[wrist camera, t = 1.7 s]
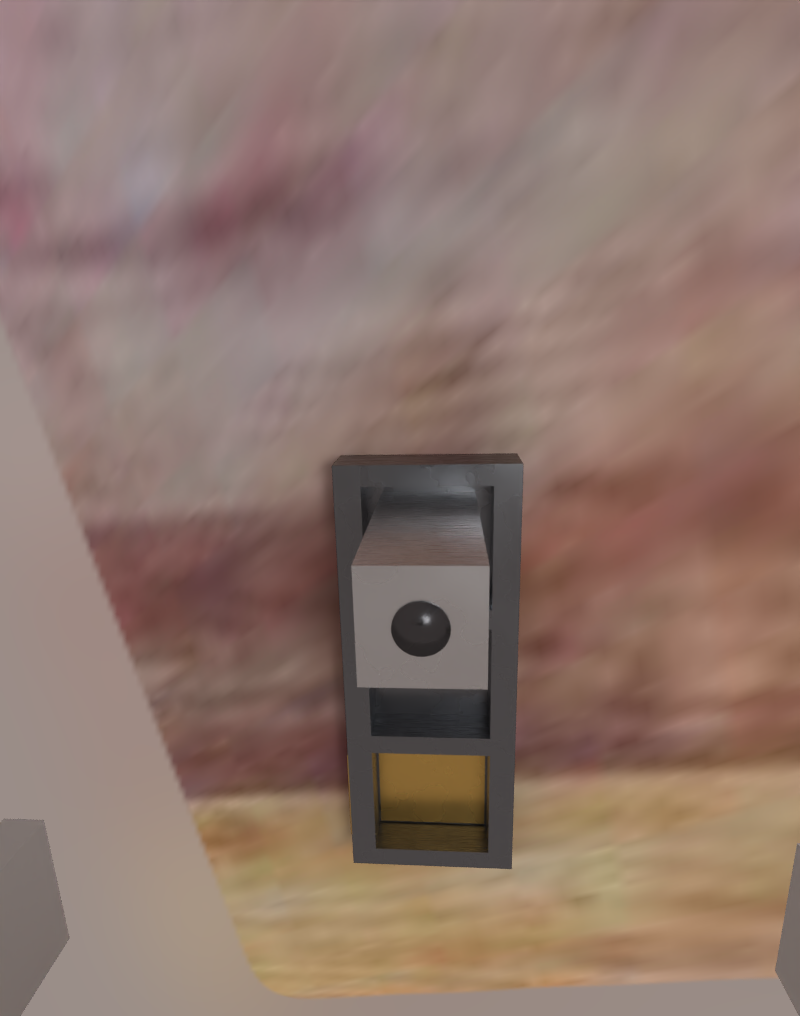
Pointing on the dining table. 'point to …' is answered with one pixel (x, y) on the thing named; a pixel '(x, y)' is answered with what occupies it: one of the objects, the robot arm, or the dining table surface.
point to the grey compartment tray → (434, 712)
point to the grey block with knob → (422, 594)
